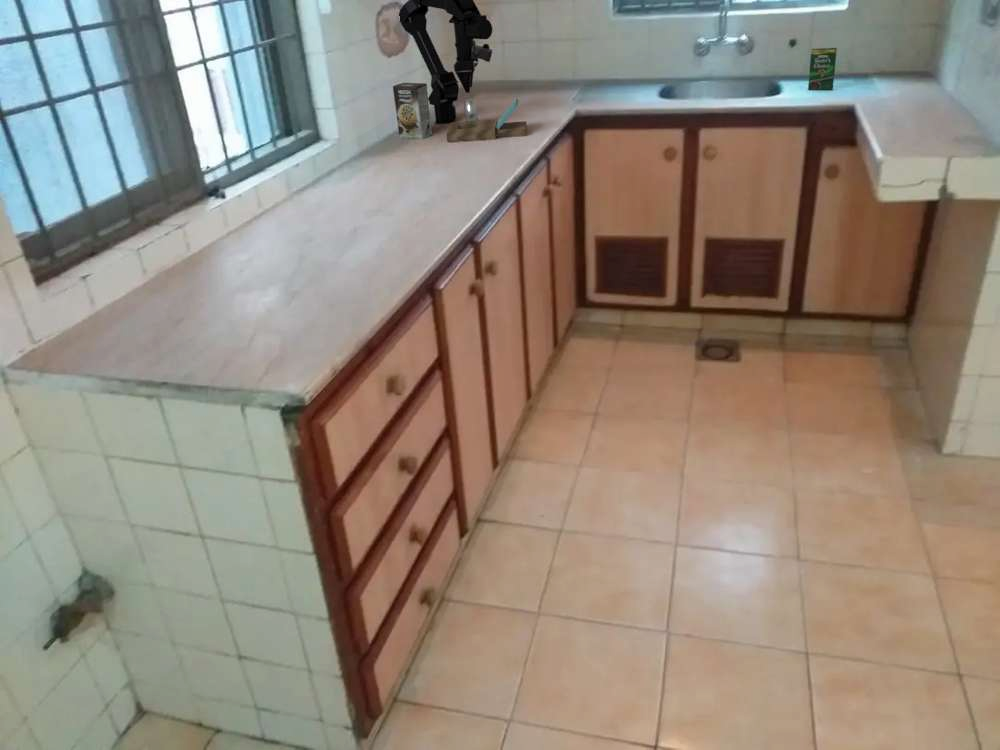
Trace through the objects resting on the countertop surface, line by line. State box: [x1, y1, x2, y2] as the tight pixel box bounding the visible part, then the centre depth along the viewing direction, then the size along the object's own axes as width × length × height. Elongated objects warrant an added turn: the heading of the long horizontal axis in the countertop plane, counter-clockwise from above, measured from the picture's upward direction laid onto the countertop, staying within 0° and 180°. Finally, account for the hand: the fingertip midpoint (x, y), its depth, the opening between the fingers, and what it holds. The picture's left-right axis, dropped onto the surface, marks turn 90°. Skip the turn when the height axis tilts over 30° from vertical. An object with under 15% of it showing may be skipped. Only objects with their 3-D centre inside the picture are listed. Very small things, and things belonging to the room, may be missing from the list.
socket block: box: [446, 118, 528, 143], centre depth 256 cm, size 24×14×3 cm, turn 87°
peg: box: [463, 98, 479, 121], centre depth 267 cm, size 4×4×8 cm
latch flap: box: [496, 98, 519, 129], centre depth 253 cm, size 9×10×1 cm
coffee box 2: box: [807, 47, 838, 91], centre depth 272 cm, size 8×3×13 cm, turn 62°
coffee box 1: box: [392, 82, 433, 140], centre depth 258 cm, size 9×6×16 cm
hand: (469, 89), depth 264 cm, fingers open, 9 cm apart
